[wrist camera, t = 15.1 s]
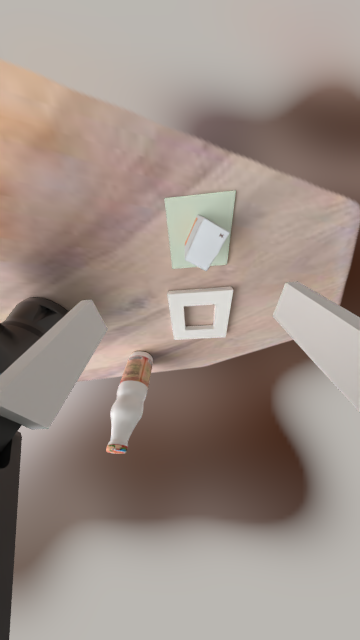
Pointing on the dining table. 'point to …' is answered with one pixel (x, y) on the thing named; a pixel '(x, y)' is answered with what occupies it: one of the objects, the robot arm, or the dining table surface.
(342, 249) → the dining table surface
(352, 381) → the robot arm
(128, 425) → the fruit juice
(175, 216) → the pad
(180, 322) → the white frame
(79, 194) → the dining table surface
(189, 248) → the skincare box
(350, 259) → the dining table surface
